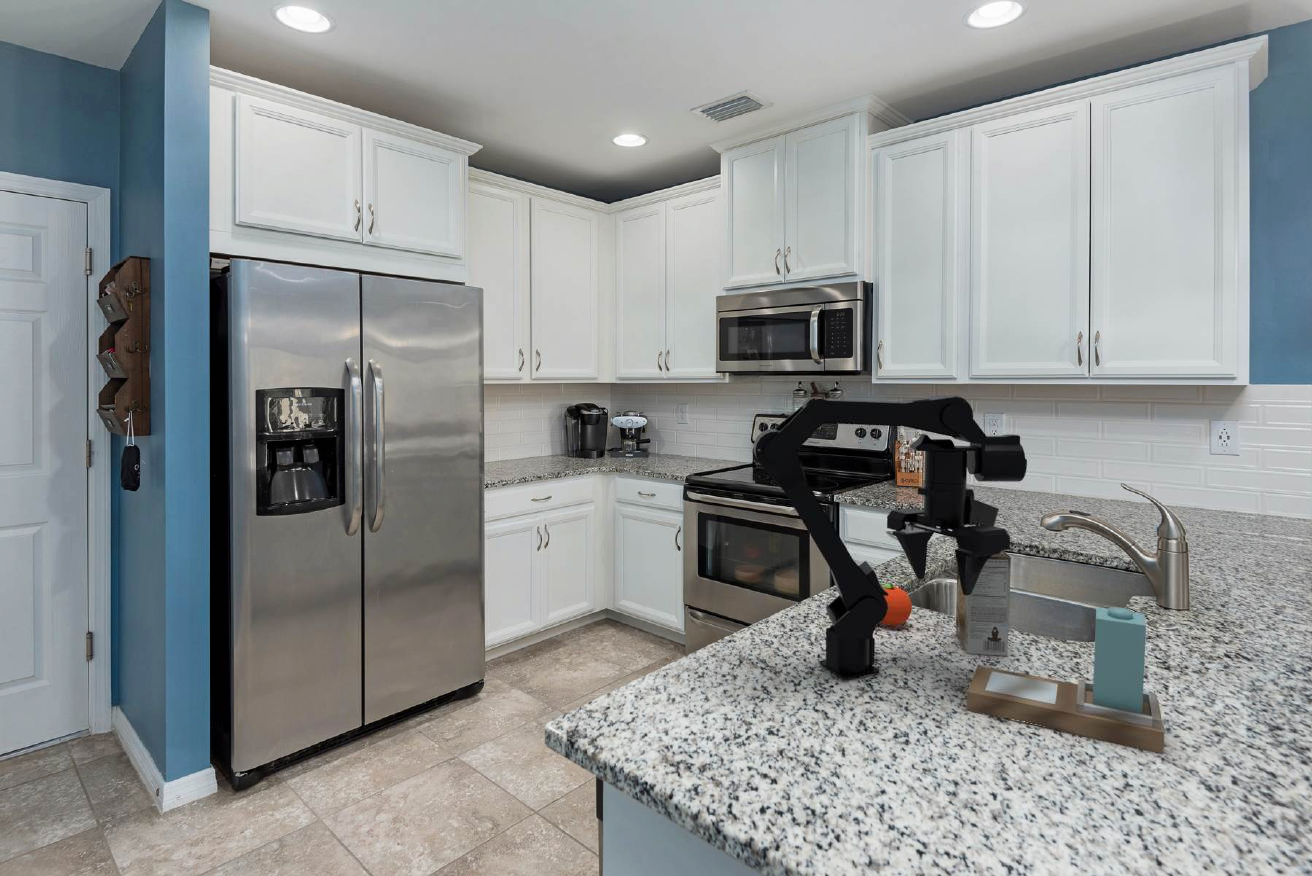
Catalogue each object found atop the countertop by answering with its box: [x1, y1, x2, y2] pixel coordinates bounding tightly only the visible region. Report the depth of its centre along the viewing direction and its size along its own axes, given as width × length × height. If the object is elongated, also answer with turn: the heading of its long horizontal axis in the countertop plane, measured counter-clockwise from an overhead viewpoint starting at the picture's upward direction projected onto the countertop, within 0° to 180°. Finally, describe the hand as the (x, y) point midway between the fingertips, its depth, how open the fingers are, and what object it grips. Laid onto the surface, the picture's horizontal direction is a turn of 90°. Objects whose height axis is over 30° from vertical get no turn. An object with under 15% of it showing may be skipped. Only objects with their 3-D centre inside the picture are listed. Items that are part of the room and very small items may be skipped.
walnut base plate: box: [966, 665, 1165, 754], centre depth 90 cm, size 21×10×4 cm, turn 58°
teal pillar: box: [1092, 606, 1147, 714], centre depth 87 cm, size 5×5×12 cm
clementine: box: [880, 584, 913, 627], centre depth 125 cm, size 8×7×7 cm
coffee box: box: [955, 545, 1012, 657], centre depth 114 cm, size 9×6×16 cm
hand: (943, 586), depth 103 cm, fingers open, 9 cm apart
